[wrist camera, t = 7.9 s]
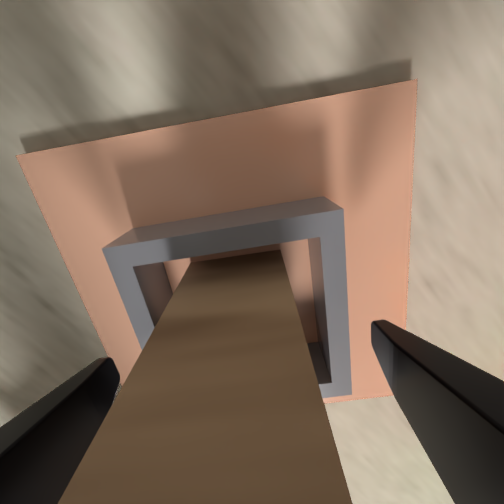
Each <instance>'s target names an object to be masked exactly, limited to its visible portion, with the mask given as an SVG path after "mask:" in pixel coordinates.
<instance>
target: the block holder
mask: <svg viewBox="0 0 504 504" xmlns="http://www.w3.org/2000/svg"><path fill="white" fill-rule="evenodd" d="M416 100H417V79H414V80H409V81H404V82H398V83H393V84H388V85H383V86H377V87H372V88H367V89H362V90H356V91H351V92H346V93H341V94H335V95H330V96H325V97H320V98H314V99H309V100H304V101H299V102H294V103H288V104H283V105H278V106H273V107H267V108H262V109H257V110H252V111H246V112H241V113H236V114H231V115H225V116H220V117H215V118H210V119H204V120H199V121H194V122H189V123H183V124H178V125H173V126H168V127H162V128H157V129H152V130H147V131H142V132H136V133H131V134H126V135H121V136H115V137H110V138H105V139H100V140H94V141H89V142H84V143H79V144H73V145H68V146H63V147H58V148H52V149H47V150H42V151H37V152H31V153H26V154H21V155H16V158H17V160H18V162H19V164H20V166H21V169H22V171H23V173H24V175H25V177H26V179H27V182H28V184H29V186H30V188H31V190H32V192H33V195H34V197H35V199H36V201H37V203H38V205H39V208H40V210H41V212H42V214H43V216H44V218H45V221H46V223H47V225H48V227H49V229H50V232H51V234H52V236H53V238H54V240H55V242H56V245H57V247H58V249H59V251H60V253H61V255H62V258H63V260H64V262H65V264H66V266H67V268H68V271H69V273H70V275H71V277H72V279H73V281H74V284H75V286H76V288H77V290H78V292H79V295H80V297H81V299H82V301H83V303H84V305H85V308H86V310H87V312H88V314H89V316H90V318H91V321H92V323H93V325H94V327H95V329H96V331H97V334H98V336H99V338H100V340H101V342H102V344H103V347H104V349H105V351H106V353H107V355H108V357H111V358H112V359H113V360H114V363H115V365H116V367H117V369H118V371H119V374H120V384H121V386H123V384H124V382H125V381H126V379H127V377H128V375H129V373H130V372H131V370H132V368H133V366H134V364H135V362H136V361H137V359H138V357H139V355H140V353H141V352H142V350H143V348H144V346H145V344H146V343H147V341H148V339H149V337H150V335H151V333H152V332H153V330H154V328H155V326H156V324H157V323H158V321H159V319H160V317H161V315H162V313H163V312H164V310H165V308H166V306H167V304H168V303H169V301H170V299H171V297H172V295H173V294H174V292H175V290H176V288H177V286H178V284H179V283H180V281H181V279H182V277H183V275H184V274H185V272H186V270H187V268H188V266H189V264H190V263H191V262H198V261H205V260H212V259H219V258H225V257H232V256H239V255H246V254H253V253H259V252H266V251H273V250H281V253H282V257H283V260H284V264H285V267H286V271H287V274H288V278H289V282H290V285H291V289H292V292H293V296H294V299H295V303H296V306H297V310H298V313H299V317H300V320H301V324H302V328H303V331H304V335H305V338H306V342H307V345H308V349H309V352H310V356H311V359H312V363H313V366H314V370H315V374H316V377H317V381H318V384H319V388H320V391H321V395H322V398H323V402H324V403H333V402H341V401H350V400H358V399H366V398H375V397H383V396H391V395H393V393H392V391H391V389H390V387H389V384H388V382H387V380H386V378H385V375H384V373H383V371H382V368H381V366H380V364H379V361H378V359H377V357H376V355H375V352H374V350H373V348H372V344H371V322H372V321H375V320H382V319H384V320H387V321H389V322H391V323H393V324H395V325H397V326H398V327H400V328H402V329H404V330H406V312H407V291H408V269H409V248H410V227H411V206H412V184H413V163H414V142H415V121H416Z"/></svg>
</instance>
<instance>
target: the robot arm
mask: <svg viewBox="0 0 504 504" xmlns="http://www.w3.org/2000/svg"><path fill="white" fill-rule="evenodd" d="M371 344H372V348H373V350H374V352H375V355H376V357H377V359H378V361H379V364H380V366H381V368H382V371H383V373H384V375H385V378H386V380H387V382H388V384H389V387H390V389H391V391H392V393H393V395H394V397H395V399H396V400H397V402H398V404H399V406H400V408H401V409H402V411H403V413H404V415H405V416H406V418H407V420H408V422H409V423H410V425H411V427H412V429H413V430H414V432H415V434H416V436H417V438H418V439H419V441H420V443H421V445H422V446H423V448H424V450H425V452H426V453H427V455H428V457H429V459H430V460H431V462H432V464H433V466H434V467H435V469H436V471H437V473H438V475H439V476H440V478H441V480H442V482H443V483H444V485H445V487H446V489H447V490H448V492H449V494H450V496H451V497H452V499H453V501H454V503H455V504H504V381H503V380H501V379H499V378H497V377H495V376H493V375H491V374H489V373H487V372H485V371H483V370H481V369H479V368H477V367H476V366H474V365H472V364H470V363H468V362H466V361H464V360H462V359H460V358H458V357H456V356H454V355H452V354H451V353H449V352H447V351H445V350H443V349H441V348H439V347H437V346H435V345H433V344H431V343H429V342H427V341H425V340H424V339H422V338H420V337H418V336H416V335H414V334H412V333H410V332H408V331H406V330H404V329H402V328H400V327H398V326H397V325H395V324H393V323H391V322H389V321H387V320H384V319H382V320H375V321H372V322H371ZM119 382H120V374H119V371H118V369H117V367H116V365H115V363H114V360H113V359H112V358H111V357H105V358H99V359H97V360H96V361H94V362H93V363H91V364H90V365H88V366H87V367H86V368H84V369H83V370H81V371H80V372H78V373H77V374H76V375H74V376H73V377H71V378H70V379H69V380H67V381H66V382H64V383H63V384H61V385H60V386H59V387H57V388H56V389H54V390H53V391H51V392H50V393H49V394H47V395H46V396H44V397H43V398H41V399H40V400H39V401H37V402H36V403H34V404H33V405H32V406H30V407H29V408H27V409H26V410H24V411H23V412H22V413H20V414H19V415H17V416H16V417H14V418H13V419H12V420H10V421H9V422H7V423H6V424H4V425H3V426H2V427H0V504H58V502H59V500H60V499H61V497H62V495H63V493H64V491H65V489H66V488H67V486H68V484H69V482H70V480H71V479H72V477H73V475H74V473H75V471H76V470H77V468H78V466H79V464H80V462H81V460H82V459H83V457H84V455H85V453H86V451H87V450H88V448H89V446H90V444H91V442H92V441H93V439H94V437H95V435H96V433H97V431H98V430H99V428H100V426H101V424H102V422H103V421H104V419H105V417H106V415H107V413H108V411H109V410H110V408H111V406H112V404H113V401H114V398H115V395H116V392H117V389H118V386H119Z"/></svg>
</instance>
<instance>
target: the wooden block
mask: <svg viewBox="0 0 504 504" xmlns="http://www.w3.org/2000/svg"><path fill="white" fill-rule="evenodd" d="M58 504H352V501H351V497H350V494H349V490H348V487H347V483H346V480H345V476H344V473H343V469H342V466H341V462H340V458H339V455H338V451H337V448H336V444H335V441H334V437H333V434H332V430H331V427H330V423H329V420H328V416H327V412H326V409H325V405H324V402H323V398H322V395H321V391H320V388H319V384H318V381H317V377H316V374H315V370H314V366H313V363H312V359H311V356H310V352H309V349H308V345H307V342H306V338H305V335H304V331H303V328H302V324H301V320H300V317H299V313H298V310H297V306H296V303H295V299H294V296H293V292H292V289H291V285H290V282H289V278H288V274H287V271H286V267H285V264H284V260H283V257H282V253H281V250H273V251H266V252H259V253H253V254H246V255H239V256H232V257H225V258H219V259H212V260H205V261H198V262H191V263H190V264H189V266H188V268H187V270H186V272H185V274H184V275H183V277H182V279H181V281H180V283H179V284H178V286H177V288H176V290H175V292H174V294H173V295H172V297H171V299H170V301H169V303H168V304H167V306H166V308H165V310H164V312H163V313H162V315H161V317H160V319H159V321H158V323H157V324H156V326H155V328H154V330H153V332H152V333H151V335H150V337H149V339H148V341H147V343H146V344H145V346H144V348H143V350H142V352H141V353H140V355H139V357H138V359H137V361H136V362H135V364H134V366H133V368H132V370H131V372H130V373H129V375H128V377H127V379H126V381H125V382H124V384H123V386H122V388H121V390H120V392H119V393H118V395H117V397H116V399H115V401H114V402H113V404H112V406H111V408H110V410H109V411H108V413H107V415H106V417H105V419H104V421H103V422H102V424H101V426H100V428H99V430H98V431H97V433H96V435H95V437H94V439H93V441H92V442H91V444H90V446H89V448H88V450H87V451H86V453H85V455H84V457H83V459H82V460H81V462H80V464H79V466H78V468H77V470H76V471H75V473H74V475H73V477H72V479H71V480H70V482H69V484H68V486H67V488H66V489H65V491H64V493H63V495H62V497H61V499H60V500H59V502H58Z"/></svg>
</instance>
